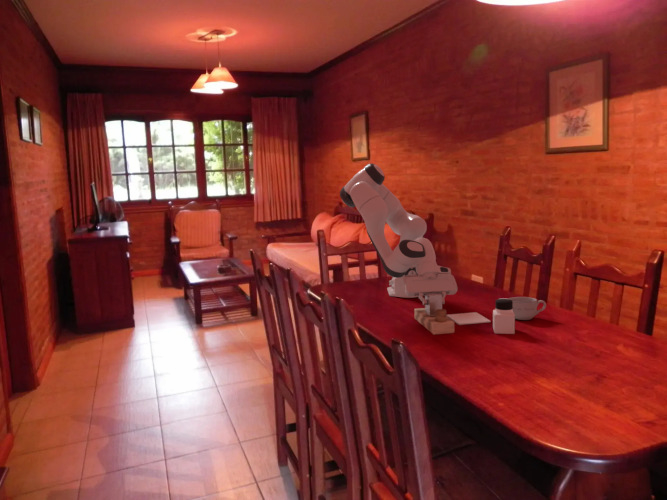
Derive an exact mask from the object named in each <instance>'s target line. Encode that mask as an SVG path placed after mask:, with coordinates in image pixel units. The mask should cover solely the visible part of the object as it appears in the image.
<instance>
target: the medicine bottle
mask: <svg viewBox="0 0 667 500" xmlns="http://www.w3.org/2000/svg"><path fill="white" fill-rule="evenodd" d="M494 302H495V306H494V307H495V308H494V309H493V310H492V328H493V333H494V334H501V335H502V334H503V335H504V334H505V335H515V333H516V319H515V314H514V312H513V301H512V300H510V299H509V298H504V297H503V298H498V299H495V301H494Z"/></svg>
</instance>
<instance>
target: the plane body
mask: <svg viewBox="0 0 667 500" xmlns="http://www.w3.org/2000/svg"><path fill="white" fill-rule="evenodd" d="M413 312H414V315H413V316H414V320H416V321H417V322H418V323H419V324H420V325H422V326H423V327H424V328H425V329H427V331H428V332H430V333H431V334H432V335H443V334H454V333H455V322H454V321H453V320H451V319H450V318H449V317H447V316H446V315H447V309H445V308H442V309H437V310H436V316H429V315H427V314H426V313H425V307H419V308H414V310H413Z"/></svg>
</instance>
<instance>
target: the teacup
mask: <svg viewBox="0 0 667 500" xmlns="http://www.w3.org/2000/svg"><path fill="white" fill-rule="evenodd" d="M508 299H510V300H512V301H513V312H514V314H515V320H518V321H519V320H521V321H529V320H532V319H533V318H534V317H535V316H536V315H539V313H542V312H543V311H544V310H545V309H546V308H547V303H546V301H544V300H541V299H540V300H538V299H537V298H535V297H529V296H515V297H509V298H508ZM539 304H543V306H542V307H541V308H540V309H538V306H539Z"/></svg>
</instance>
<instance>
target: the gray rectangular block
mask: <svg viewBox="0 0 667 500" xmlns="http://www.w3.org/2000/svg"><path fill="white" fill-rule="evenodd" d="M442 298H443V297H442V295H441V294H440V293H438V292H431V293H425V296H424V299H427V305H424V308H425V313H426V314H427V315H429V316H436V310H437V309H443V304H442Z"/></svg>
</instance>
